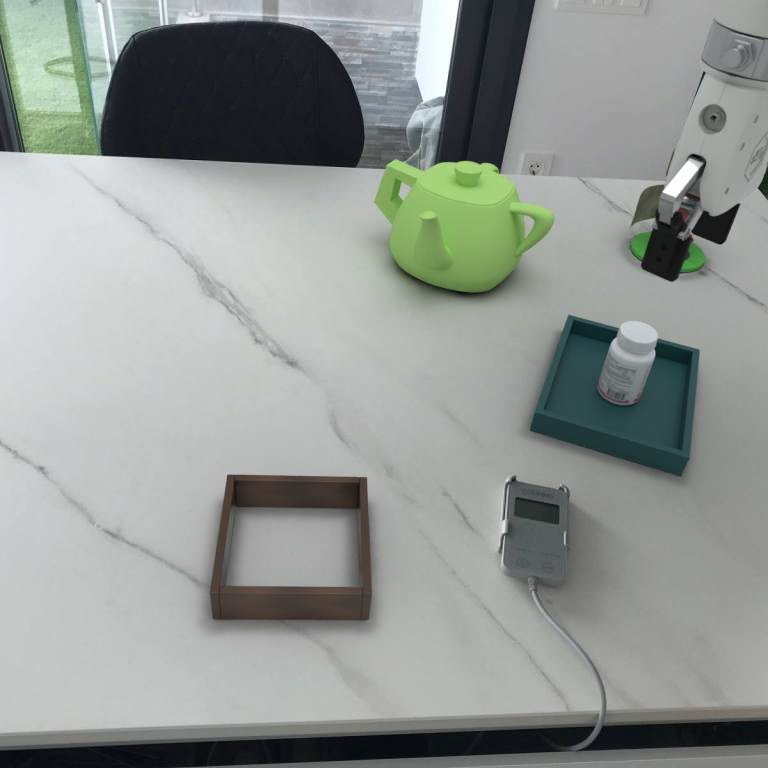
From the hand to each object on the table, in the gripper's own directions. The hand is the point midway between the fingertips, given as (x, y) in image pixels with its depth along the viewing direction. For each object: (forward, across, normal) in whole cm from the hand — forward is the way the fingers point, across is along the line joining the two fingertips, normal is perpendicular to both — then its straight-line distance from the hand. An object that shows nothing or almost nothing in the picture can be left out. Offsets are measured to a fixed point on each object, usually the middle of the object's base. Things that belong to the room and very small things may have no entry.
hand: (683, 255), depth 68 cm
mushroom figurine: (+21, +41, +14) cm, 48 cm away
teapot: (+21, +12, +33) cm, 41 cm away
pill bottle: (+21, +5, +3) cm, 22 cm away
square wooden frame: (+22, -35, +12) cm, 43 cm away
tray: (+21, +5, +3) cm, 22 cm away
